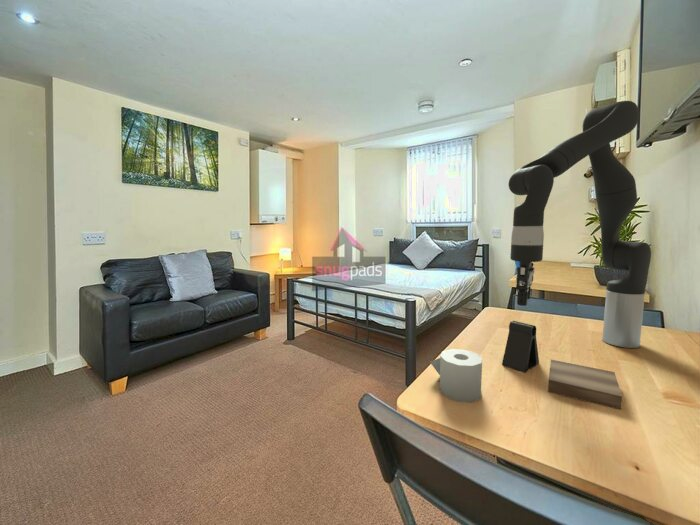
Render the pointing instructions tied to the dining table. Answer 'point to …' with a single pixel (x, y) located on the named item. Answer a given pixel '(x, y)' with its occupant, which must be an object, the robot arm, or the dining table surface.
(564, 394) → the walnut block
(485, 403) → the dining table surface
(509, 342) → the phone stand
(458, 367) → the toilet tissue
